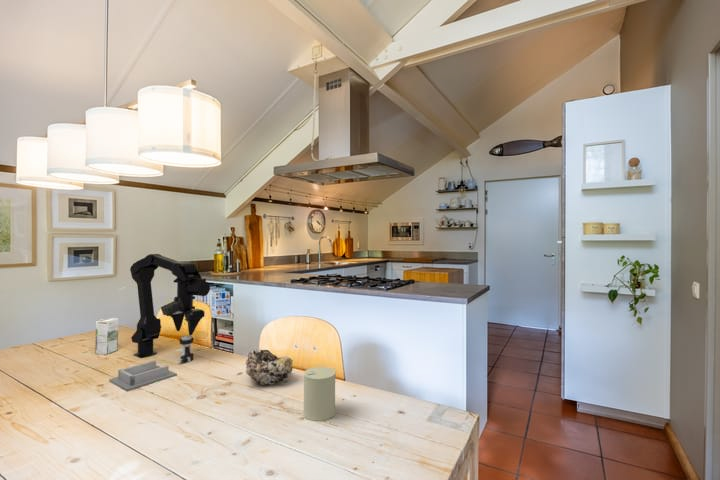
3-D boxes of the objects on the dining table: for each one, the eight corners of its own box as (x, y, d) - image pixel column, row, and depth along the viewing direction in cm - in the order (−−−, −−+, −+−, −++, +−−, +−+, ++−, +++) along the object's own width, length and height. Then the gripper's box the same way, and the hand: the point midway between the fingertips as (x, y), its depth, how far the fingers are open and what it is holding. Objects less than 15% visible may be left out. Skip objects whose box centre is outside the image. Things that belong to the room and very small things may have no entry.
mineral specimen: (257, 370, 128) (257, 344, 128) (300, 375, 123) (300, 348, 123) (231, 387, 113) (231, 357, 113) (278, 394, 108) (279, 363, 108)
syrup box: (106, 349, 150) (107, 317, 150) (118, 350, 150) (118, 317, 150) (94, 354, 145) (95, 320, 145) (107, 354, 144) (107, 320, 144)
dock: (109, 381, 117) (109, 370, 117) (157, 367, 130) (157, 357, 130) (127, 391, 109) (127, 380, 109) (176, 375, 123) (177, 365, 123)
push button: (183, 365, 132) (183, 340, 132) (172, 363, 134) (173, 338, 134) (196, 359, 139) (196, 335, 139) (186, 358, 140) (186, 334, 140)
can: (299, 408, 99) (300, 367, 99) (329, 402, 103) (330, 363, 103) (307, 424, 91) (308, 379, 91) (340, 417, 94) (340, 374, 94)
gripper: (152, 294, 134) (151, 333, 134) (177, 299, 124) (176, 342, 124) (180, 290, 144) (179, 327, 144) (205, 295, 133) (204, 335, 133)
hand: (184, 332), depth 136 cm, fingers open, 9 cm apart
